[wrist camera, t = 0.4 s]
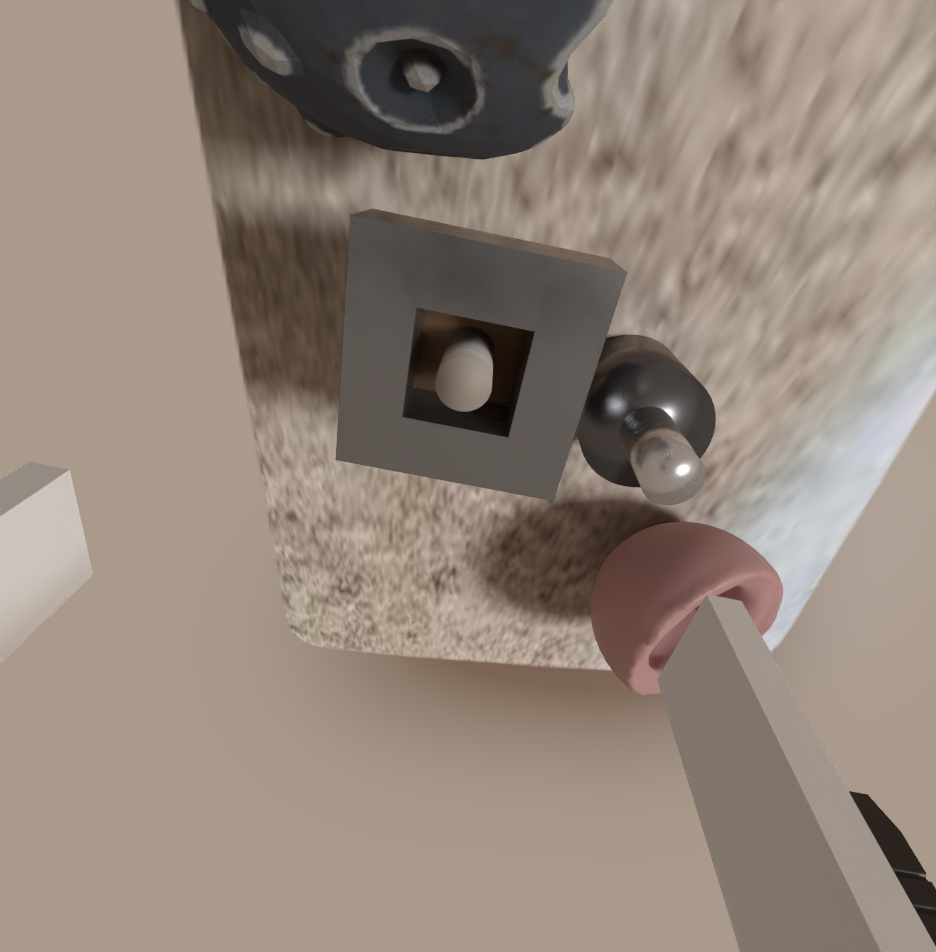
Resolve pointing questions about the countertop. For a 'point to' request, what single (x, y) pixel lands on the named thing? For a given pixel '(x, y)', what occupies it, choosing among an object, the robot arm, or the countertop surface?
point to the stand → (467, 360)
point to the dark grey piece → (417, 67)
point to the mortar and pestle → (672, 594)
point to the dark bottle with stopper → (646, 420)
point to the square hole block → (481, 298)
